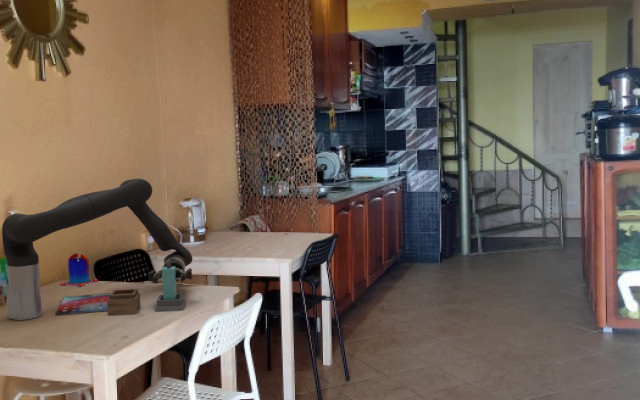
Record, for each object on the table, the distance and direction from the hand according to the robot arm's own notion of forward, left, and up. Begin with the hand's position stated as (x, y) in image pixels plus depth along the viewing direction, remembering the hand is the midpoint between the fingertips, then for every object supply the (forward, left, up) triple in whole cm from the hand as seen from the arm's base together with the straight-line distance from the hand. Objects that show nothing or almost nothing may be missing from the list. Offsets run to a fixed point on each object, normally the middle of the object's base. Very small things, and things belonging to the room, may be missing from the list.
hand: (168, 279), depth 212 cm
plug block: (+1, +1, -8) cm, 9 cm away
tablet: (-7, +30, -11) cm, 33 cm away
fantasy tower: (+13, +58, -10) cm, 60 cm away
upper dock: (-8, +12, -10) cm, 18 cm away
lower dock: (+2, +1, -10) cm, 10 cm away
